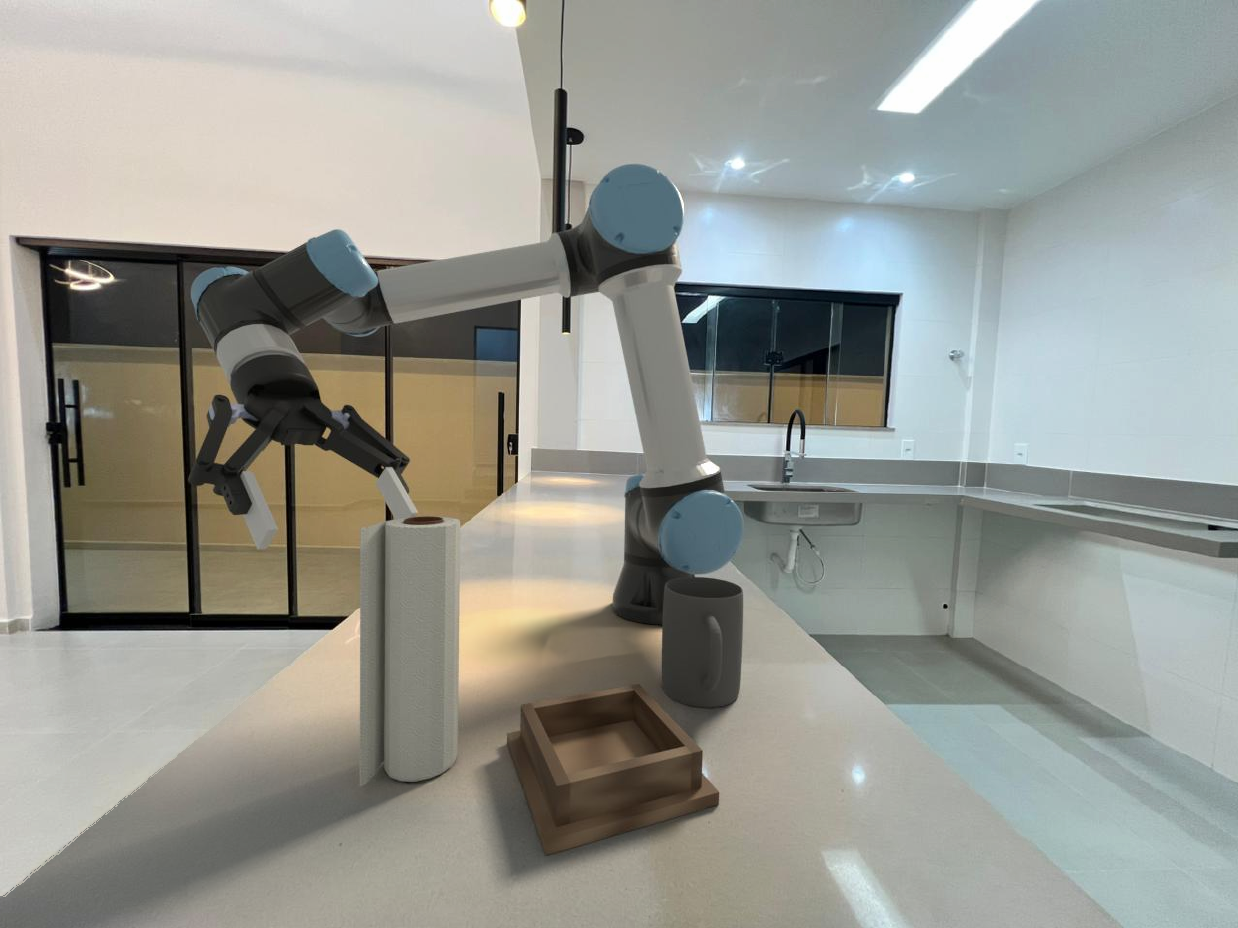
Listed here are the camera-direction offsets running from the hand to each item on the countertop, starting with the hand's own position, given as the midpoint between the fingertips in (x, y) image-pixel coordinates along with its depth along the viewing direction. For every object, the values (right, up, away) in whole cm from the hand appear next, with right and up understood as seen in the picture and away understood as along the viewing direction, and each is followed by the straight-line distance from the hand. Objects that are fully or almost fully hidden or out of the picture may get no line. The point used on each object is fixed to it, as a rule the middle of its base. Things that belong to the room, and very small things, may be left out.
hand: (347, 529), depth 49 cm
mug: (+35, -20, +9) cm, 42 cm away
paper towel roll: (+8, -20, -4) cm, 22 cm away
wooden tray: (+25, -20, -5) cm, 32 cm away
